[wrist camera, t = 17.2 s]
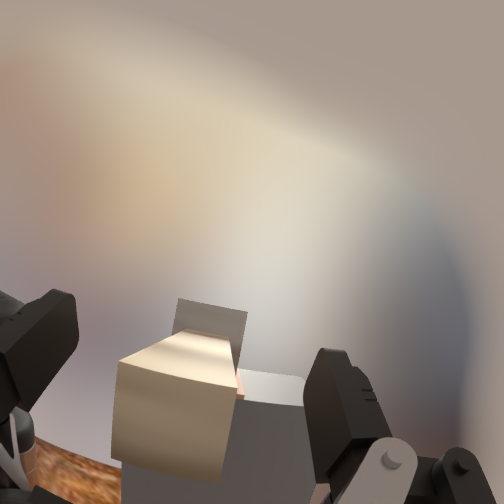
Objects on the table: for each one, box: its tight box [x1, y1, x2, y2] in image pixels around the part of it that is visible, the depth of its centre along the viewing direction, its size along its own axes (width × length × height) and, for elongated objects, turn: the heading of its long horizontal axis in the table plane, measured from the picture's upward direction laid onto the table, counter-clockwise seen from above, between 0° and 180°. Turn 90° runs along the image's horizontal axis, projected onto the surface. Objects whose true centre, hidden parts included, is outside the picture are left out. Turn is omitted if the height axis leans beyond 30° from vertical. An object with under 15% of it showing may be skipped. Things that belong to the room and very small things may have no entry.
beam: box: [111, 298, 248, 484], centre depth 16 cm, size 20×5×5 cm, turn 6°
